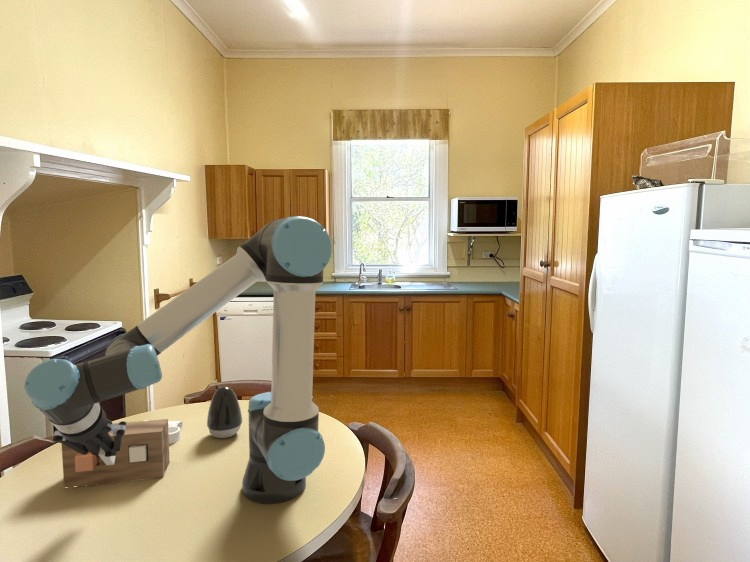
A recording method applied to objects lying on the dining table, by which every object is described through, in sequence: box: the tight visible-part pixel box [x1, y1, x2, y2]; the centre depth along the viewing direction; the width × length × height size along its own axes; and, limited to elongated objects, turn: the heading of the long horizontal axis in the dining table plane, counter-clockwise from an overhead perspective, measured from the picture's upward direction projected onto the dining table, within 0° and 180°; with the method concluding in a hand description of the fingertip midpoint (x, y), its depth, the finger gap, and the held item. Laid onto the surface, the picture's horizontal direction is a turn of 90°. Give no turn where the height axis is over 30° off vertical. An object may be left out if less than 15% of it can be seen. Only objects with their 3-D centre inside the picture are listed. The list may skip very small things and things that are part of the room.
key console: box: [61, 418, 171, 489], centre depth 115 cm, size 8×22×12 cm, turn 104°
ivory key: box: [129, 444, 148, 462], centre depth 114 cm, size 5×4×4 cm
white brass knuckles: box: [144, 419, 184, 445], centre depth 137 cm, size 3×18×15 cm
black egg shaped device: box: [206, 384, 243, 439], centre depth 138 cm, size 10×10×15 cm
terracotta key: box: [75, 452, 99, 472], centre depth 109 cm, size 5×4×4 cm
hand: (111, 458), depth 102 cm, fingers closed
